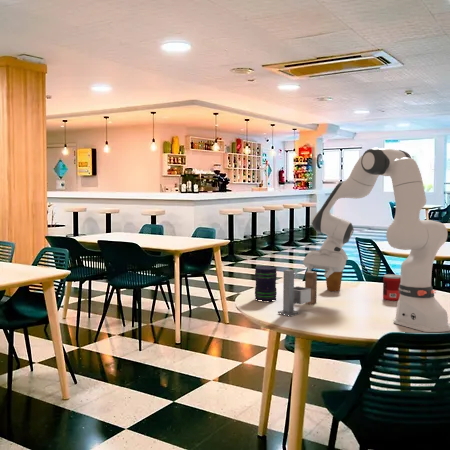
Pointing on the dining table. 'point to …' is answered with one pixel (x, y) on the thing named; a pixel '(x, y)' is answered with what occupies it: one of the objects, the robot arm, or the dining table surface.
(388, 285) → the canned food
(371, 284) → the dining table surface
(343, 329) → the dining table surface
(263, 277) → the rusty blue barrel
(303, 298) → the bracket
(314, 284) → the rail
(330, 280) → the disposable coffee cup
